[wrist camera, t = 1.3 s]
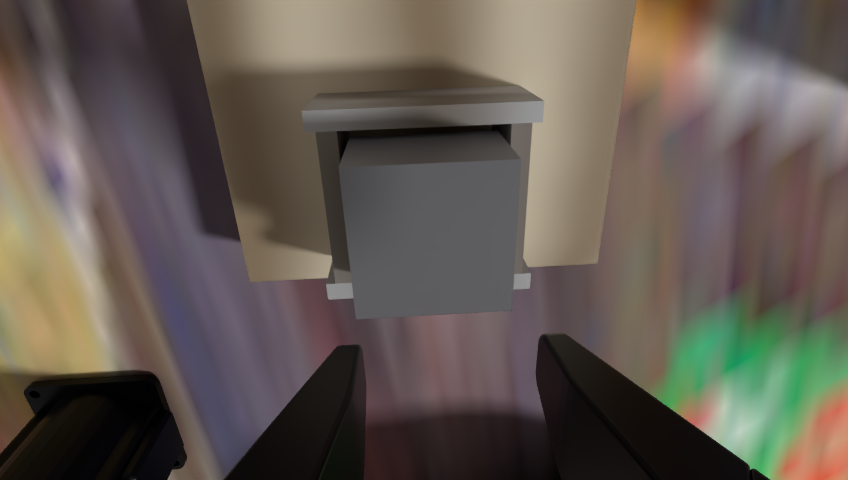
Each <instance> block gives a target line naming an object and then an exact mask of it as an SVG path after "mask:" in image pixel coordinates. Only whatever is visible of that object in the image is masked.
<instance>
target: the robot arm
mask: <svg viewBox="0 0 848 480" xmlns="http://www.w3.org/2000/svg"><path fill="white" fill-rule="evenodd" d="M536 381H537V387H538V391H539V395H540V399H541V403H542V407H543V411H544V415H545V419H546V424H547V428H548V432H549V436H550V440H551V444H552V448H553V452H554V456H555V460H556V464H557V467H558V470H559V473H560V476H561V479H562V480H770V479H768V478H767V477H766V476H764V475H763V474H761V473H760V472H759V471H757V470H756V469H751V470H750V467H749V465H748V464H747V463H746V462H744V461H743V460H741V459H740V458H739V457H737V456H736V455H734V454H733V453H732V452H730V451H729V450H727V449H726V448H725V447H723V446H722V445H720V444H719V443H718V442H716V441H715V440H713V439H712V438H711V437H709V436H708V435H706V434H705V433H704V432H702V431H701V430H699V429H698V428H697V427H695V426H694V425H692V424H691V423H690V422H688V421H687V420H685V419H684V418H683V417H681V416H680V415H678V414H677V413H676V412H674V411H673V410H671V409H670V408H669V407H667V406H666V405H664V404H663V403H662V402H660V401H659V400H657V399H656V398H655V397H653V396H652V395H650V394H649V393H648V392H646V391H645V390H643V389H642V388H641V387H639V386H638V385H636V384H635V383H634V382H632V381H631V380H629V379H628V378H627V377H625V376H624V375H622V374H621V373H620V372H618V371H617V370H615V369H614V368H613V367H611V366H610V365H608V364H607V363H606V362H604V361H603V360H601V359H600V358H599V357H597V356H596V355H594V354H593V353H592V352H590V351H589V350H587V349H586V348H585V347H583V346H582V345H580V344H579V343H578V342H576V341H575V340H573V339H572V338H571V337H569V336H568V335H566V334H564V333H551V334H543V335H541V336H540V338H539V342H538V353H537V363H536ZM146 384H148V385H149V386H148V385H146ZM24 395H25V397H26V399H27V401H28V403H29V404H30V406H31V408H32V410H33V412H34V414H35V416H34V417H33V418H32V419H31V420H30V421H29V422H28V424H27V425H26V426H25V427H24V428H23V429H22V430H21V431H20V433H19V434H18V435H17V436H16V437H15V438H14V439H13V440H12V442H11V443H10V444H9V445H8V446H7V447H6V448H5V449H4V450H3V452H2V453H1V454H0V480H167V479H168V477H169V475H170V473H171V471H172V469H180V468H182V467H183V466H184V464H185V462H186V460H187V455H186V453H185V450H184V447H183V446H184V444H183V441H182V438H181V435H180V433H179V430H178V427H177V424H176V422H175V419H174V416H173V414H172V412H171V411H170V409H169V406H168V403H167V400H166V397H165V395H164V392H163V389H162V386H161V384H160V381H159V380H158V379H157V378H156V377H154V376H152V375H137V376H120V377H103V378H86V379H69V380H52V381H36V382H32V383H31V384H30V385H29V386H28V387H27V388H26V389H25V391H24ZM365 423H366V378H365V369H364V360H363V351H362V348H361V346H360V345H357V344H356V345H340V346H337V347H336V348H335V349H334V350H333V351H332V353H331V354H330V355H329V356H328V357H327V358H326V360H325V361H324V362H323V363H322V364H321V365H320V367H319V368H318V369H317V370H316V371H315V373H314V374H313V375H312V376H311V377H310V378H309V380H308V381H307V382H306V383H305V384H304V385H303V387H302V388H301V389H300V390H299V391H298V393H297V394H296V395H295V396H294V397H293V398H292V400H291V401H290V402H289V403H288V404H287V405H286V407H285V408H284V409H283V410H282V411H281V412H280V414H279V415H278V416H277V417H276V418H275V420H274V421H273V422H272V423H271V424H270V425H269V427H268V428H267V429H266V430H265V431H264V432H263V434H262V435H261V436H260V437H259V438H258V440H257V441H256V442H255V443H254V444H253V445H252V447H251V448H250V449H249V450H248V451H247V452H246V454H245V455H244V456H243V457H242V458H241V460H240V461H239V462H238V463H237V464H236V465H235V467H234V468H233V469H232V470H231V471H230V472H229V474H228V475H227V476H226V477H225V478H224V479H223V480H363V478H364V459H365Z"/></svg>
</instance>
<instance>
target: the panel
mask: <svg viewBox="0 0 848 480" xmlns="http://www.w3.org/2000/svg"><path fill="white" fill-rule="evenodd" d="M187 4H188V9H189V13H190V18H191V22H192V26H193V31H194V35H195V40H196V44H197V49H198V53H199V57H200V62H201V66H202V71H203V75H204V80H205V84H206V89H207V93H208V97H209V102H210V106H211V111H212V115H213V120H214V124H215V129H216V133H217V137H218V142H219V146H220V151H221V155H222V160H223V164H224V169H225V173H226V177H227V182H228V186H229V191H230V195H231V200H232V204H233V208H234V213H235V217H236V222H237V226H238V231H239V235H240V240H241V244H242V248H243V253H244V257H245V262H246V266H247V271H248V275H249V280H250V282H258V281H277V280H295V279H314V278H328V279H327V283H326V286H327V293H328V299H346V298H353V289H352V280H351V272H350V263H349V254H348V246H347V237H346V228H345V219H344V211H343V202H342V193H341V185H340V176H339V165H340V162H341V159H342V157H343V154H344V151H345V149H346V146H347V143H348V141H349V138H350V137H361V136H384V135H407V134H430V133H453V132H476V131H498V132H499V133H500V134H501V135H502V136H503V138H504V139H505V140H506V141H507V142H508V144H509V145H510V146H511V147H512V149H513V150H514V151H515V152H516V153H517V155H518V156H519V157H520V158H521V173H520V189H519V205H518V222H517V238H516V255H515V271H514V287H513V289H530V279H531V272H530V270H529V268H528V267H541V266H560V265H579V264H597V262H598V256H599V249H600V242H601V235H602V229H603V222H604V215H605V209H606V202H607V195H608V188H609V182H610V175H611V168H612V161H613V155H614V148H615V141H616V134H617V128H618V121H619V114H620V108H621V101H622V94H623V87H624V81H625V74H626V67H627V60H628V54H629V47H630V40H631V33H632V27H633V20H634V13H635V7H636V0H187Z"/></svg>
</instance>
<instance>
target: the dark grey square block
mask: <svg viewBox="0 0 848 480" xmlns="http://www.w3.org/2000/svg"><path fill="white" fill-rule="evenodd" d="M520 173H521V158H520V157H519V156H518V155H517V153H516V152H515V151H514V150H513V149H512V147H511V146H510V145H509V144H508V142H507V141H506V140H505V139H504V138H503V136H502V135H501V134H500V133H499V132H498V131H476V132H453V133H430V134H407V135H384V136H361V137H350V138H349V141H348V143H347V146H346V149H345V151H344V154H343V157H342V159H341V162H340V165H339V176H340V185H341V193H342V202H343V211H344V219H345V228H346V237H347V246H348V254H349V263H350V272H351V280H352V289H353V298H354V306H355V315H356V319H370V318H388V317H406V316H424V315H442V314H460V313H478V312H496V311H512V304H513V287H514V271H515V255H516V238H517V222H518V205H519V189H520Z"/></svg>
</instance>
